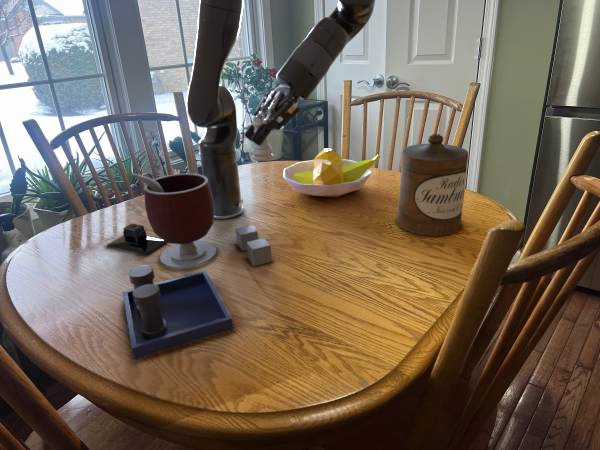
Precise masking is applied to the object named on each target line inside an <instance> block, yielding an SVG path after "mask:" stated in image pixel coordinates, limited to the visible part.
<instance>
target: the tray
mask: <svg viewBox="0 0 600 450" xmlns="http://www.w3.org/2000/svg"><path fill="white" fill-rule="evenodd" d="M154 284H155V285H157V286H158V287H159V290H160V295H161V298H160V300H159V301H160V304H161V312H162V317H163V320H165V321H166V323H167V328H168V330H167V332H166V334H165V335H163V336H162V337H158V338H155V339H152V340H150V339H145V338H144V337H143V335H142V331H141V327H142V325H143V324H142V319H141V315H139V314H138V312H137V305H136V304H135V302H134V298H133V291H134V290H135V288H131V289H127V290H124V291H122V293H121V294H122V299H123V304H124V310H125V317H126V322H127V328H128V334H129V340H130V341H129V342H130V346H131V351H132V354H133V359H134V360H136V359H141V358H142V357H146V356H150V355H152V354H156V353H159V352H162V351H165V350H169V349H171V348H175V347H179V346H182V345H184V344H188V343H191V342H194V341H198V340H200V339H204V338H207V337H211V336H214V335H217V334H220V333H224V332H227V331H231V330H234V323H233V318H232V316H231V314H230V312H229V310H228V308H227V306H226V305H225V303H224V301H223V299H222V297H221V296H220V294H219V292H218V290H217V288H216V286H215V284H214V283H213V281H212V279H211V277H210V275H209V274H208V272H207V270H202V271H199V272H194V273H190V274H187V275H183V276H179V277H176V278H171V279H167V280H162V281H159V282H154Z"/></svg>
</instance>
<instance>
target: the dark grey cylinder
mask: <svg viewBox="0 0 600 450" xmlns="http://www.w3.org/2000/svg"><path fill="white" fill-rule="evenodd" d="M134 289H135V288H134ZM133 298H134V302H135V304H136V305H138V307H139V311H140V315H141V319H142V324H143V325H142V327H141V331H142V335H143V337H144V338H145V339H150V340H152V339H155V338H158V337H162V336H163V335H165V334H166V332H167V330H168V328H167V323H166V321H165V320H163V317H162V312H161V307H160V303H159V300H160V298H161V295H160V290H159V287H158V286H157V285H155V283H154V284H146V285H142V286H140V287H138V288H136V289H135V290H134V291H133Z"/></svg>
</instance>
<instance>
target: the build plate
mask: <svg viewBox="0 0 600 450" xmlns="http://www.w3.org/2000/svg"><path fill="white" fill-rule="evenodd" d="M122 233H123V235H122V236H120V237H118V238H117V239H115V240H113V241H111V242H109V243H108V244H106V247H107V248H112V249H116V250H122V251H126V252H130V253H136V254H138V255H141V256H142V255H143V256H147V255H150V254H151V253H153V252H154V251H156V250H157V249H158V248H160V247H162V246H163V245H165V244H167V242H165V241H164V240H162V239H161V238H156V237H151V236H147V232H146V229H145V226H144V225H143V224H137V223H130V224H128V225H126V226H123V231H122Z"/></svg>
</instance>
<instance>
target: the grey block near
mask: <svg viewBox="0 0 600 450" xmlns="http://www.w3.org/2000/svg"><path fill="white" fill-rule="evenodd" d="M246 243H247V250H246V251H247V259H248V261H249V262H250V263H251V264H252V266H253V267H258V266H262V265H264V264H270V263H272V261H273V259H272V250H271V249H272V247H271V244H270V243H269V242H268V241H267V239H265V238H264V237H263V238H258V240H254V241H250V242H246Z"/></svg>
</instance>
